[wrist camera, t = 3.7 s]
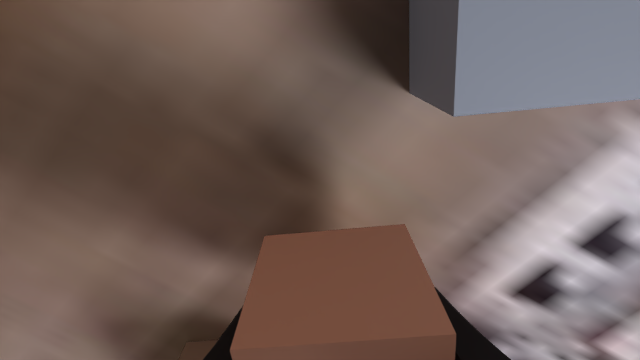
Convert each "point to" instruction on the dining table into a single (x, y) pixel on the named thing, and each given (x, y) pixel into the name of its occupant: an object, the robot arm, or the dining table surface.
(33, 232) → the dining table surface
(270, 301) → the terracotta block
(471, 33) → the slate block
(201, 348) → the walnut block
